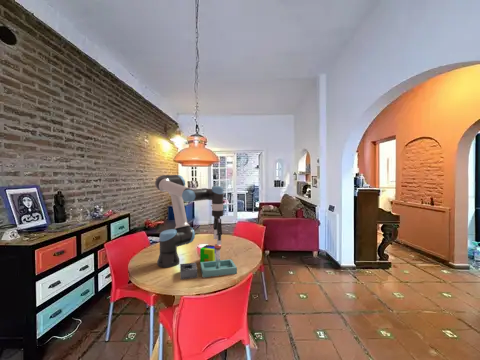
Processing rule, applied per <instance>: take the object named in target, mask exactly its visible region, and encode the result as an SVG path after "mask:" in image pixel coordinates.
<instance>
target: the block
mask: <svg viewBox="0 0 480 360" xmlns="http://www.w3.org/2000/svg"><path fill="white" fill-rule="evenodd" d="M179 264H180V265H179V266H180V267H179V268H180V270H179V273H180V275H179V276H180V280H189V279H195V278H198V266H197V262H189V263H186V262H185V263H179Z"/></svg>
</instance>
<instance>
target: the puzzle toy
mask: <svg viewBox="0 0 480 360" xmlns="http://www.w3.org/2000/svg"><path fill="white" fill-rule="evenodd" d="M199 257H200V258H199V260H200V262H208V261H216V249H214V245H210V244H205V245H204V246H203V247H201V248H200V249H199ZM200 262H199V263H200Z"/></svg>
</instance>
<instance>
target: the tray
mask: <svg viewBox="0 0 480 360" xmlns="http://www.w3.org/2000/svg"><path fill="white" fill-rule="evenodd" d="M199 263H200V267H199V268H200V272H201V275H202V276H201V277H202V278H209V277H211V276H212V277H219V275H220V276H229V275H236V273H237V274H238V267H237V265H236V264H235V263H234V261H233V260H232V258H230V259H229V258H228V259H220V268H219V269H216V261H208V262H199Z"/></svg>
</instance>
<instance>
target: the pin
mask: <svg viewBox="0 0 480 360" xmlns="http://www.w3.org/2000/svg"><path fill="white" fill-rule="evenodd" d="M213 246H214V249H216V269H219V268H220V260H221V249H222V244H221V245H217V243H216V244H214V245H213Z"/></svg>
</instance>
